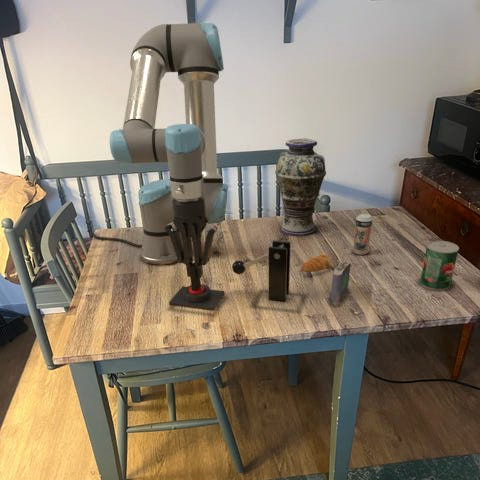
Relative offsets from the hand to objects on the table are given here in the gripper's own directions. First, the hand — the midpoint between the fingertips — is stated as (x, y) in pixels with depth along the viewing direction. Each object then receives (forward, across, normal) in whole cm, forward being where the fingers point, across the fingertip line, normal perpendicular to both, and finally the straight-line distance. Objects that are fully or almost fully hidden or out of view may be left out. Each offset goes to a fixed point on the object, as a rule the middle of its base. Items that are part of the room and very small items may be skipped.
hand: (196, 287), depth 119 cm
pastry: (+5, +27, +28) cm, 39 cm away
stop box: (+5, 0, 0) cm, 5 cm away
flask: (+5, +35, +12) cm, 37 cm away
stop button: (+2, 0, 0) cm, 2 cm away
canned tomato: (+5, +60, +26) cm, 65 cm away
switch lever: (-5, +16, +7) cm, 18 cm away
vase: (+5, +16, +59) cm, 61 cm away
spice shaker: (+5, +38, +43) cm, 58 cm away
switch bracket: (+5, +20, +7) cm, 22 cm away
